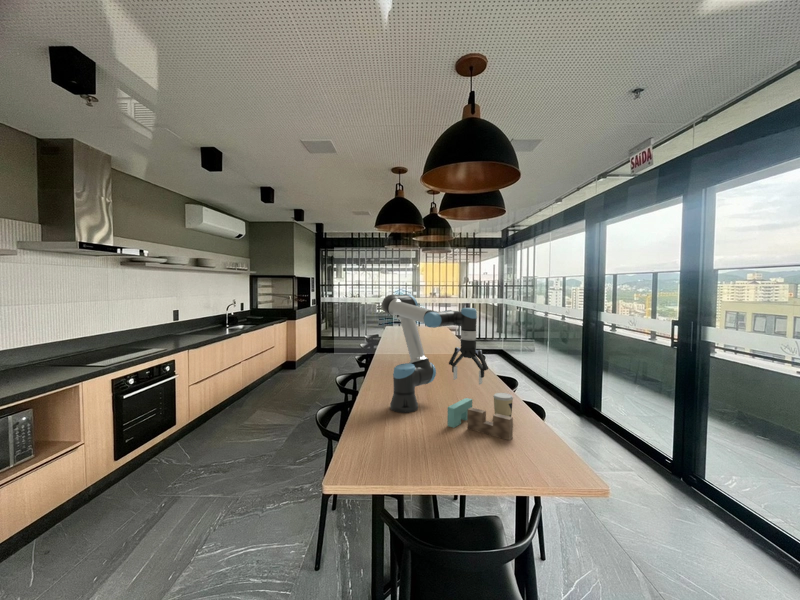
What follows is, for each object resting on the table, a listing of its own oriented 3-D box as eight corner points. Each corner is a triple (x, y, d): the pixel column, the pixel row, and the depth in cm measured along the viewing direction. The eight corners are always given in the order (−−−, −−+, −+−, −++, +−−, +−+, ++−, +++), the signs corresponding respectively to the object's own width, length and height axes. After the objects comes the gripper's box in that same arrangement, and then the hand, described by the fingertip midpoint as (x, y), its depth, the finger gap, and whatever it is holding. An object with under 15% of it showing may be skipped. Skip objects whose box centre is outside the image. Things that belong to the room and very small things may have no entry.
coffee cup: (514, 423, 164) (514, 398, 163) (493, 421, 166) (494, 397, 165) (511, 416, 173) (511, 393, 173) (492, 415, 175) (492, 391, 174)
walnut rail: (467, 428, 158) (467, 409, 157) (471, 426, 160) (471, 407, 160) (509, 440, 145) (509, 419, 145) (512, 437, 148) (512, 417, 147)
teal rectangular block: (447, 425, 161) (447, 407, 160) (466, 415, 175) (466, 397, 174) (453, 427, 158) (454, 408, 158) (472, 416, 172) (472, 399, 172)
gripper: (442, 337, 173) (441, 378, 174) (489, 342, 158) (488, 387, 159) (449, 335, 179) (448, 375, 180) (495, 340, 164) (494, 384, 165)
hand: (467, 381), depth 169 cm, fingers open, 13 cm apart
